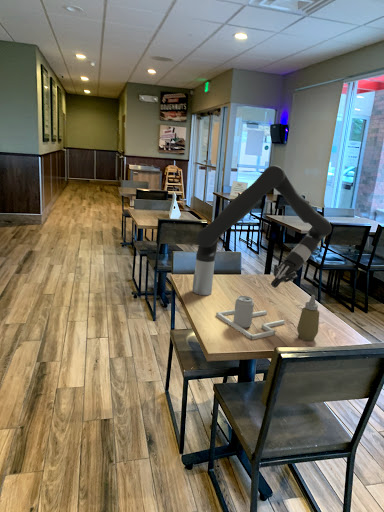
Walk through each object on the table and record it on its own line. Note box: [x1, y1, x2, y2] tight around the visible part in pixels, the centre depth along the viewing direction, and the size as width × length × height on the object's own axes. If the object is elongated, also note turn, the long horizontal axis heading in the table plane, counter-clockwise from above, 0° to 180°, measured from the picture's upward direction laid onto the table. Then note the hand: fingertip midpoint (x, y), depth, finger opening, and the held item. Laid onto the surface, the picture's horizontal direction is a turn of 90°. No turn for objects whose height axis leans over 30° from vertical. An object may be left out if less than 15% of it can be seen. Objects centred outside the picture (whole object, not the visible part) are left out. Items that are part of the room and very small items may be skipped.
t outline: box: [215, 308, 285, 340], centre depth 164 cm, size 23×24×2 cm
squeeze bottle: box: [296, 294, 320, 342], centre depth 151 cm, size 8×8×18 cm
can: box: [232, 295, 255, 329], centre depth 159 cm, size 8×8×12 cm
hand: (272, 286), depth 164 cm, fingers closed
